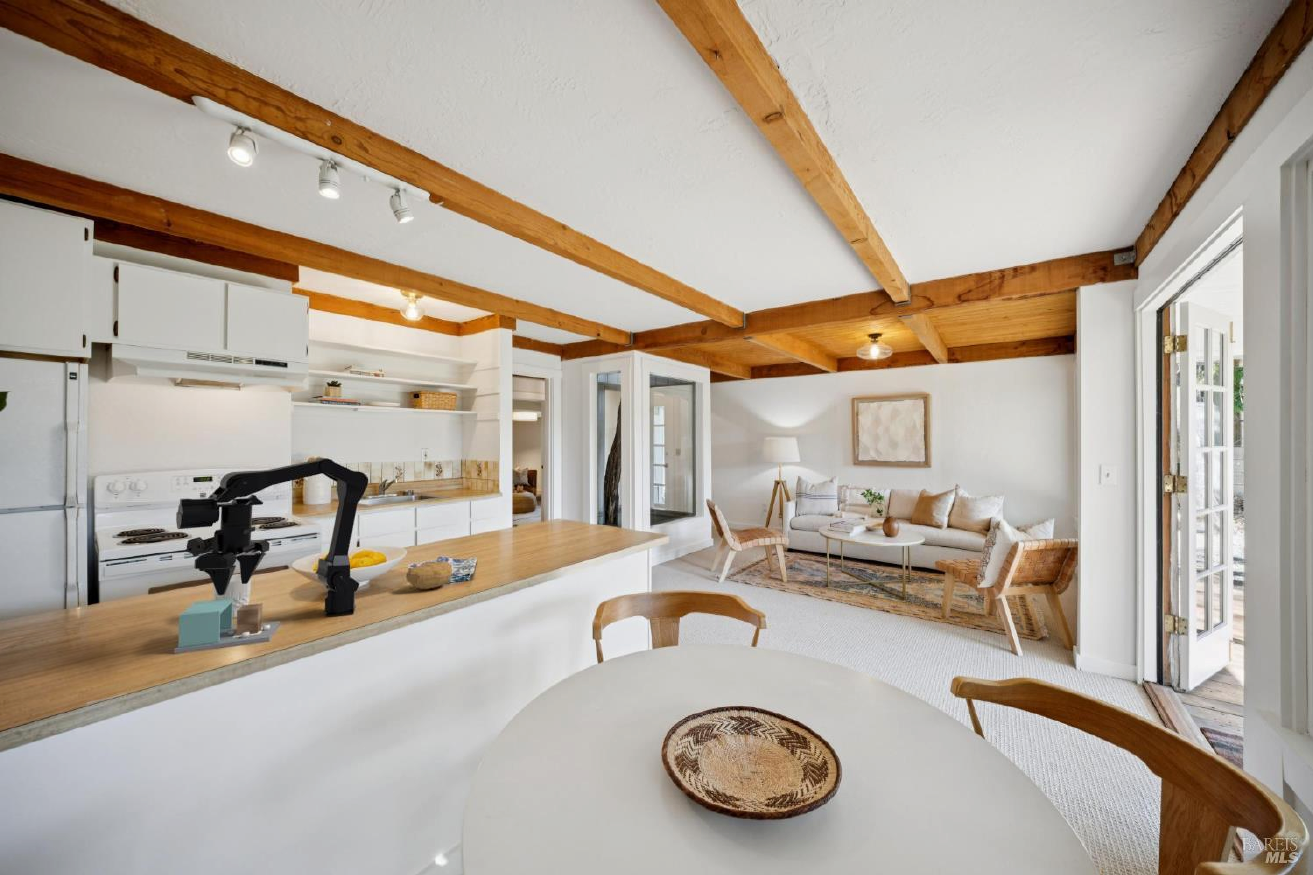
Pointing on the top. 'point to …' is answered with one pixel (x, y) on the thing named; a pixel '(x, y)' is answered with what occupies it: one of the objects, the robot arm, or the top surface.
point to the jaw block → (249, 619)
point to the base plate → (235, 638)
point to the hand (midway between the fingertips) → (233, 589)
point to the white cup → (235, 593)
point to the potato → (429, 575)
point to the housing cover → (204, 622)
